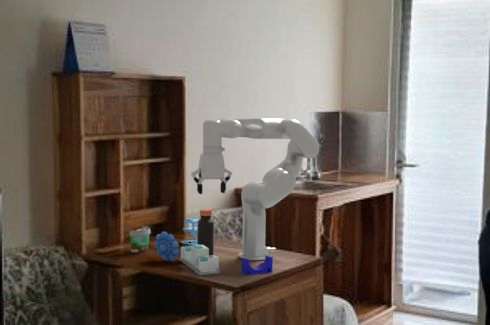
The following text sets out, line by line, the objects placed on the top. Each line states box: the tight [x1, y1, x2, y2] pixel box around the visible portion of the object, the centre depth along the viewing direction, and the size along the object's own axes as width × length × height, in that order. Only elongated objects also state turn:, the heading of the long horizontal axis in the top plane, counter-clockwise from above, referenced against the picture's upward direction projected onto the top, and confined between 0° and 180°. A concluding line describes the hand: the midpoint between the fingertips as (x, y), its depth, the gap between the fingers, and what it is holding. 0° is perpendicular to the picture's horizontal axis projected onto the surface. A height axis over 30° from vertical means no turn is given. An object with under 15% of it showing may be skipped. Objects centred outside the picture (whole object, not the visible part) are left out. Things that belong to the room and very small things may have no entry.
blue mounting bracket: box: [240, 255, 274, 276], centre depth 277 cm, size 12×4×6 cm, turn 117°
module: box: [191, 244, 209, 266], centre depth 283 cm, size 5×7×8 cm
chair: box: [180, 217, 200, 246], centre depth 326 cm, size 8×8×12 cm
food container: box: [129, 225, 152, 254], centre depth 307 cm, size 12×6×10 cm, turn 161°
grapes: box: [153, 231, 180, 262], centre depth 291 cm, size 12×7×12 cm, turn 64°
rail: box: [179, 245, 220, 276], centre depth 283 cm, size 8×24×6 cm, turn 23°
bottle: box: [196, 208, 215, 256], centre depth 299 cm, size 7×7×20 cm
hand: (211, 193), depth 289 cm, fingers open, 9 cm apart
